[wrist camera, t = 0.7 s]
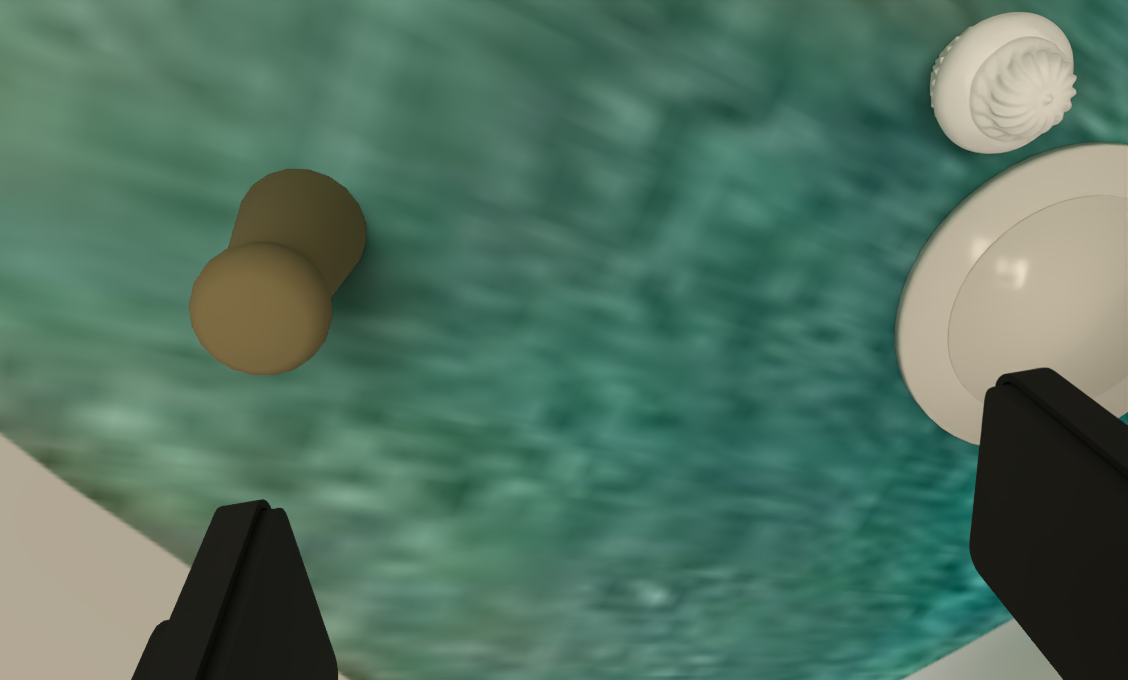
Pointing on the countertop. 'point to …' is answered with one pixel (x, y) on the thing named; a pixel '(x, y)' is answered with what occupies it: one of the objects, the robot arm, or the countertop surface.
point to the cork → (278, 273)
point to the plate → (1022, 287)
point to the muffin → (1003, 82)
